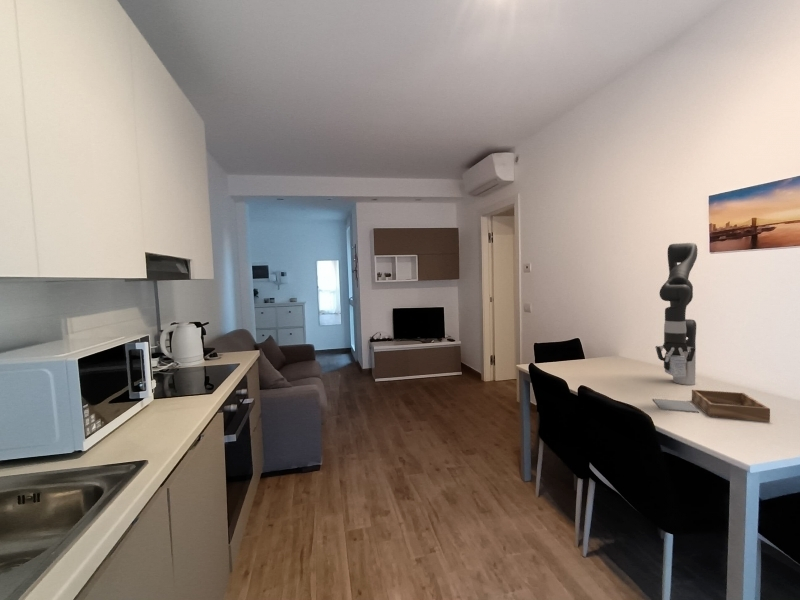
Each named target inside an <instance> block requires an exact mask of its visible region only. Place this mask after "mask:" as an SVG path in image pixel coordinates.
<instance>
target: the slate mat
mask: <svg viewBox="0 0 800 600" xmlns="http://www.w3.org/2000/svg"><path fill="white" fill-rule="evenodd" d="M652 401H653V402H654V403H655V404H656V406H657V407H658V408H659V409H660V410H662V411H663V410H664V411H674V412H685V413H695V414H696V413H700V411H699V410H698V408H696V407H695V406H694V405H693V404H691V402H689V401H688V400H675V399H663V398H652Z"/></svg>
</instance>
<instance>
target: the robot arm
mask: <svg viewBox="0 0 800 600" xmlns="http://www.w3.org/2000/svg"><path fill="white" fill-rule="evenodd" d="M697 257H698V245H697V244H696V243H694V242H683V243H682V242H680V243H671V244H669V245H668V247H667V263H668V265H667V266H668V271H669V272H668V274H669V275H668V278H667V280H666V281H665V283H663V285H662V286H661V287H660V290H659V298H660V299H661V300H662V301H665V302H669V306H668V307H665V309H664V326H663V345H656V346H655V351H656V354H657V358H658V359H659V360H660V361H662V362H663V368H664V370H665V369H666V370H668V371H669V362H668V361H669V358H670V357H671V355H681V356H684V357H685V358H686V377H674V376H672V382H674V383H676V384H678V385H679V384H680V385H686V386H694V385H696V369H697V368H696V366H697V365H696V363H697V362H696V357H697V356H696V352H697V351H696V348H697V347H696V338H697V322H696V320H694V319H690V318H689V319H687V318H686V315H687V314H686V311H687V307H688V306H689V304H690V303H691V302H692V300H693V298H694V292H693V291H694V289H693V288H694V287H693V284H692V283H691V281H690V280H689V277H690V274H691V270H692V269H693V267H694V265H695V263H696V262H697ZM663 349H664V350H665V353H664V356H663V353H662V351H663Z"/></svg>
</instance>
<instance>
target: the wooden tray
mask: <svg viewBox="0 0 800 600" xmlns="http://www.w3.org/2000/svg"><path fill="white" fill-rule="evenodd" d="M691 402H693V403H694V404H695V405H696V406H697V407H699V408H700V410H702V411H703V412H704V413H706V414H707V415H708V416H709V417H711V418H724V419H735V420H745V421H746V420H747V421H757V422H766V423H767V422H768V423H770V422H771V409H770V408H769V407H768V406H766V405H764V404H763V403H761V402H759V401H758V400H756V399H754V398H753V397H751V396H749V395H748V394H746V393H744V392H734V391H733V392H732V391H722V390H721V391H716V390H707V389H706V390H705V389H691Z"/></svg>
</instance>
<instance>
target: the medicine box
mask: <svg viewBox="0 0 800 600" xmlns="http://www.w3.org/2000/svg"><path fill="white" fill-rule="evenodd" d="M668 362H669V371H668V370H666V369H665V368H664V373H666V374H668V375H670V376H672V377H673V376H674V377H686V358H685V357H684V356H681V355H671V357H670V358H669V361H668Z"/></svg>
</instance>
